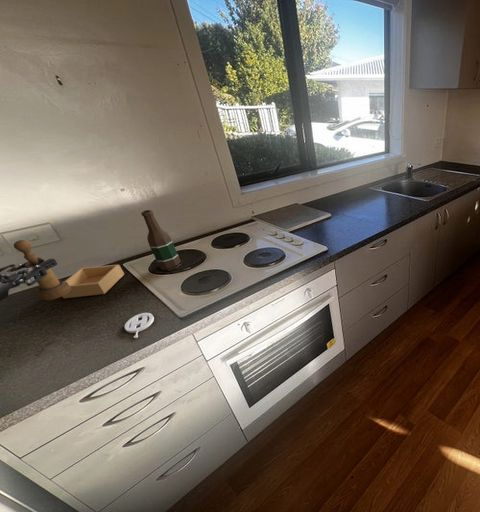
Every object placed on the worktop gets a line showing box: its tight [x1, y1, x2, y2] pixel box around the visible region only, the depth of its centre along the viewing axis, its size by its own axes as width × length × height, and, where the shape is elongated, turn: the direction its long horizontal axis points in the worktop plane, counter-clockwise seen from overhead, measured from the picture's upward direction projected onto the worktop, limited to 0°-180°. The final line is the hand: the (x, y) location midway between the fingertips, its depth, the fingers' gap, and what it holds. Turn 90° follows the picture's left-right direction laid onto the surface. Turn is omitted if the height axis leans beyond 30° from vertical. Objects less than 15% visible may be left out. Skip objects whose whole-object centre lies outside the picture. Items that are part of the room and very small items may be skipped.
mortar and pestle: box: [13, 239, 71, 301], centre depth 83 cm, size 7×6×18 cm
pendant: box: [124, 312, 155, 339], centre depth 89 cm, size 7×11×1 cm, turn 29°
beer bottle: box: [140, 209, 182, 272], centre depth 112 cm, size 8×8×24 cm
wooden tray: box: [61, 264, 125, 299], centre depth 106 cm, size 13×13×5 cm
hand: (47, 260), depth 85 cm, fingers closed on mortar and pestle, 4 cm apart
